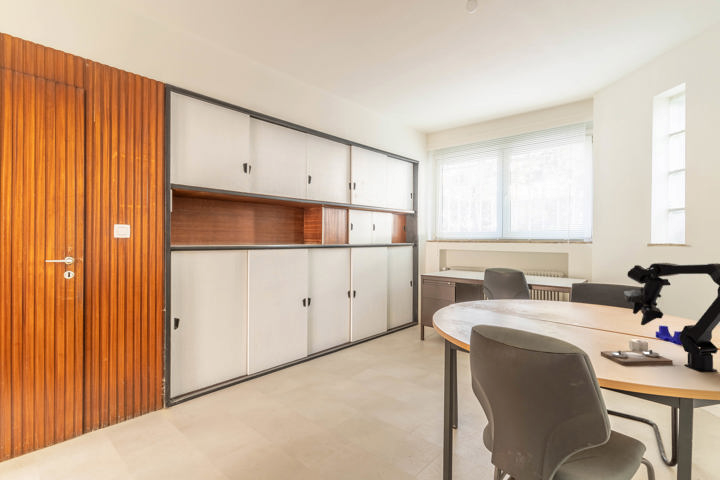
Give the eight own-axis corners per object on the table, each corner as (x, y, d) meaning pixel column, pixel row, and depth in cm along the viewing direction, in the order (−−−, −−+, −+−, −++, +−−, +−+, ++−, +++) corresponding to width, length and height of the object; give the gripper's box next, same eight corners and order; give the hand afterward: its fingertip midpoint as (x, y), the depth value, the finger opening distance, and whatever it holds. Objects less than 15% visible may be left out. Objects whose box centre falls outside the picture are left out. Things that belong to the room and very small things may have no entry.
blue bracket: (655, 337, 168) (655, 325, 168) (666, 337, 167) (665, 325, 167) (673, 344, 156) (673, 332, 156) (684, 345, 156) (684, 332, 156)
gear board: (672, 364, 133) (672, 360, 133) (622, 365, 132) (622, 361, 132) (646, 353, 145) (646, 350, 145) (600, 354, 144) (600, 351, 144)
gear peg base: (662, 357, 136) (662, 352, 136) (618, 358, 136) (618, 353, 136) (651, 353, 141) (651, 347, 141) (608, 354, 141) (608, 348, 141)
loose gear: (652, 352, 146) (651, 342, 146) (637, 352, 146) (637, 343, 146) (639, 347, 153) (639, 338, 153) (625, 347, 153) (625, 338, 153)
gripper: (622, 275, 155) (611, 304, 161) (638, 295, 139) (624, 326, 145) (651, 281, 152) (638, 309, 158) (670, 302, 136) (655, 333, 142)
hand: (638, 319), depth 151 cm, fingers open, 9 cm apart
